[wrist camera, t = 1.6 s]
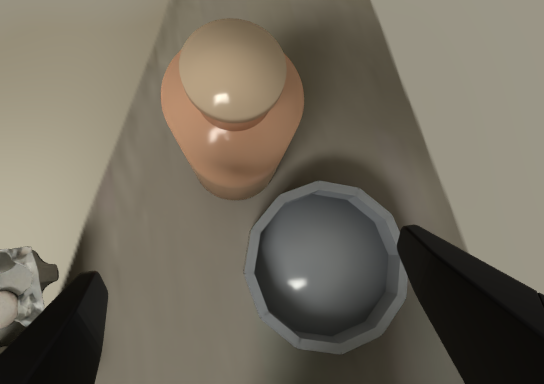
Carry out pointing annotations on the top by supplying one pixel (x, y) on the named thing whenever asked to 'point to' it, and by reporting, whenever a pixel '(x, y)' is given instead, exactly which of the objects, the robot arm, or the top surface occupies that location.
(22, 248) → the egg carton
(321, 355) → the top surface
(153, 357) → the top surface
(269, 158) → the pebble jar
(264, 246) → the slate bowl
